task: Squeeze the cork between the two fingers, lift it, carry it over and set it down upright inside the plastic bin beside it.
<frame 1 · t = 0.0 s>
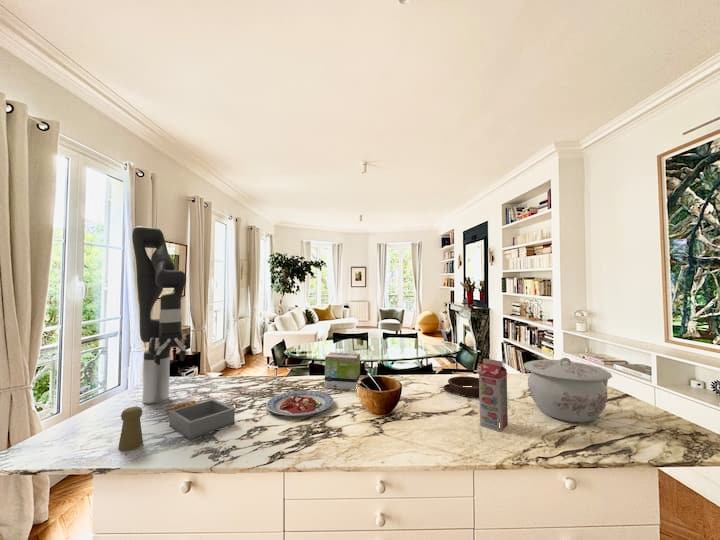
hand: (170, 362, 126), 17 cm above the worktop, tool pointing down, fingers open, 8 cm apart
ceramic plate: (300, 407, 127), on the worktop
pastry: (185, 413, 121), on the worktop
chamber pot: (567, 415, 118), on the worktop
bin: (202, 424, 110), on the worktop
cork: (130, 446, 96), on the worktop
dish: (469, 393, 143), on the worktop
tea box: (342, 386, 152), on the worktop
juice carton: (493, 426, 109), on the worktop
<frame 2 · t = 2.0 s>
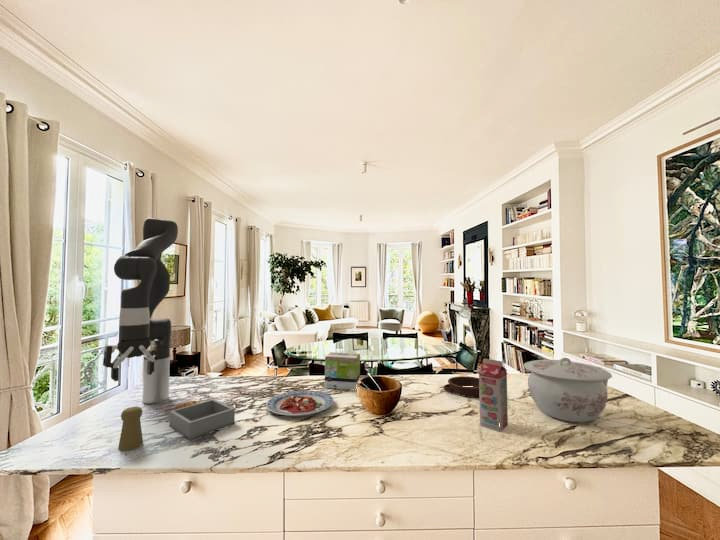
hand: (133, 377, 97), 20 cm above the worktop, tool pointing down, fingers open, 8 cm apart
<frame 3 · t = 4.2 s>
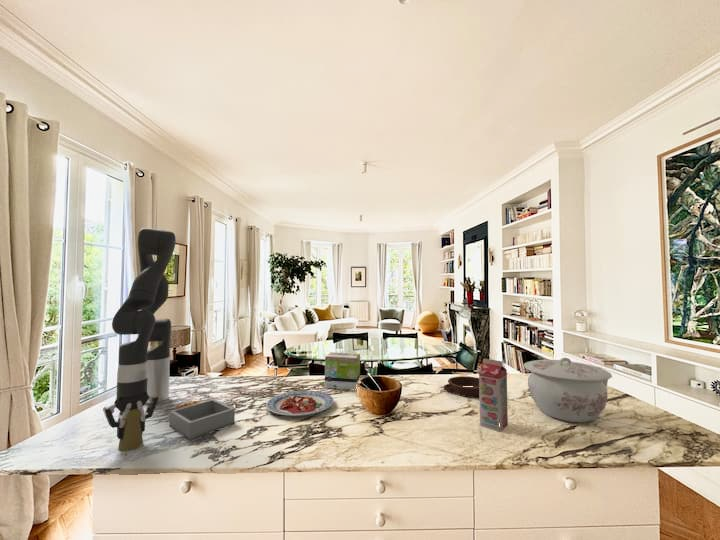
hand: (130, 436, 96), 3 cm above the worktop, tool pointing down, fingers closed on cork, 4 cm apart
cork: (130, 446, 96), on the worktop, touching gripper
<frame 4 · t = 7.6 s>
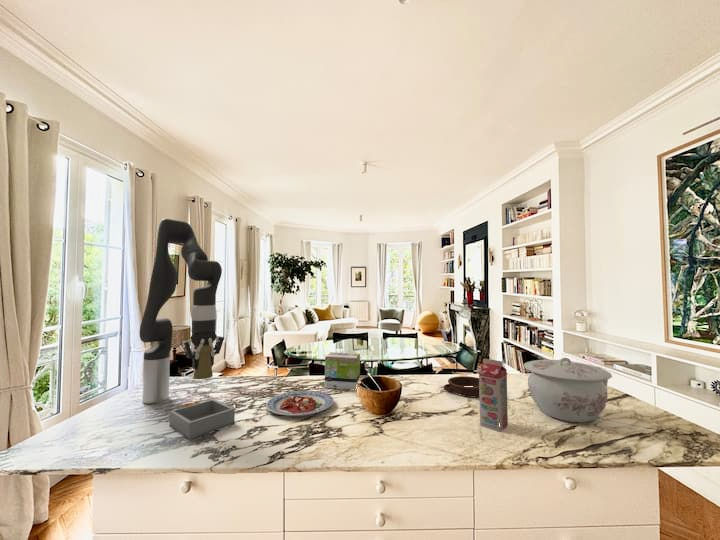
hand: (203, 368, 111), 19 cm above the worktop, tool pointing down, fingers closed on cork, 4 cm apart
cork: (203, 377, 111), point 16 cm above the worktop, touching gripper
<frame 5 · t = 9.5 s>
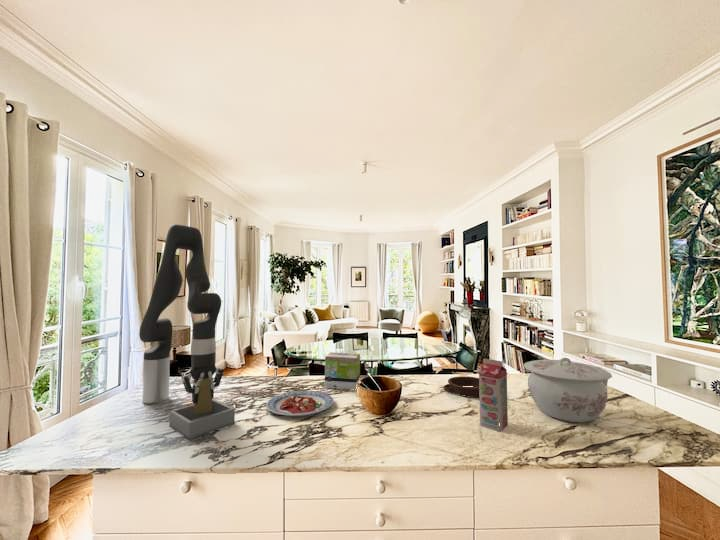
hand: (202, 401, 110), 8 cm above the worktop, tool pointing down, fingers closed on cork, 4 cm apart
cork: (202, 410, 110), point 5 cm above the worktop, touching gripper
when the fingers open (5 cm above the worktop, at t = 11.0 s): cork stays where it is, resting on bin.
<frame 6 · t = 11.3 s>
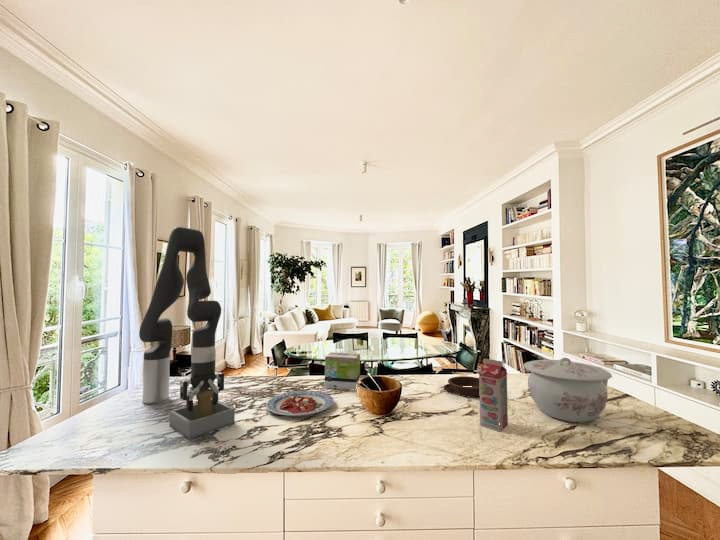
hand: (202, 407, 110), 6 cm above the worktop, tool pointing down, fingers open, 7 cm apart
cork: (204, 422, 111), resting on bin
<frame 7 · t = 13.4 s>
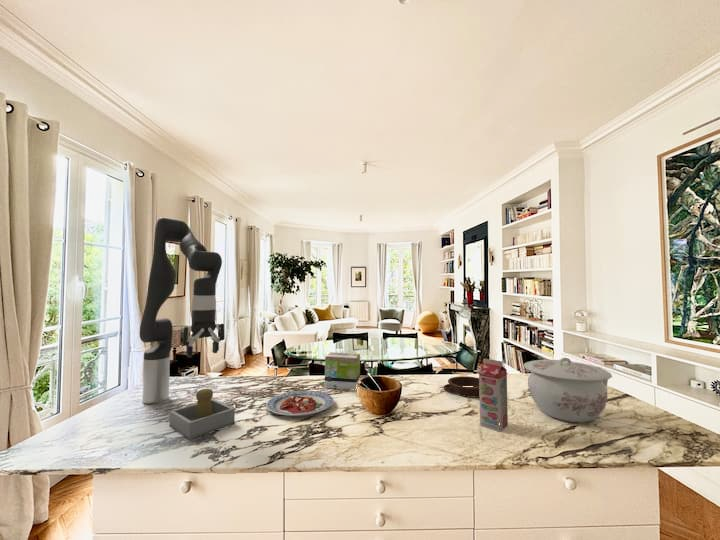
hand: (202, 354, 113), 23 cm above the worktop, tool pointing down, fingers open, 8 cm apart
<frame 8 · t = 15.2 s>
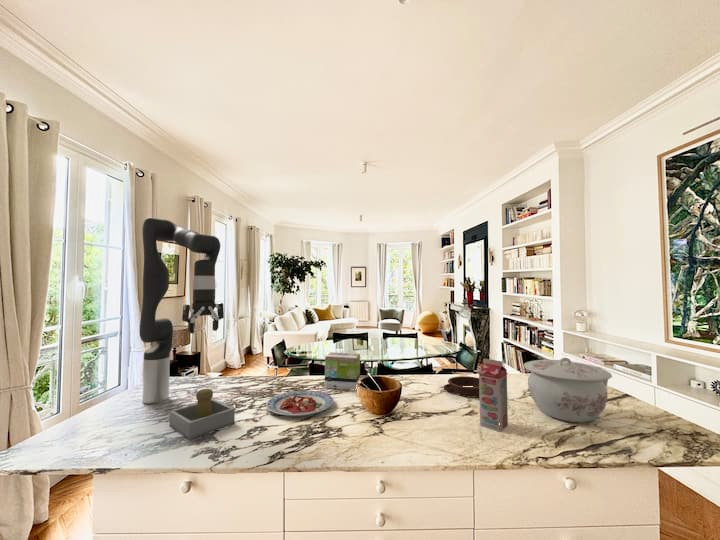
hand: (203, 331, 120), 30 cm above the worktop, tool pointing down, fingers open, 8 cm apart
at the end: cork inside the target area on the bin (0.7 cm from its centre), point 0.4 cm above the bin's base; cork tilted 0°; the gripper is holding nothing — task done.
